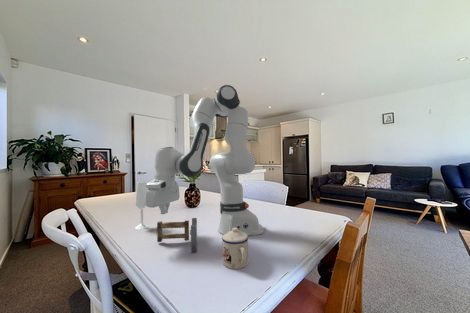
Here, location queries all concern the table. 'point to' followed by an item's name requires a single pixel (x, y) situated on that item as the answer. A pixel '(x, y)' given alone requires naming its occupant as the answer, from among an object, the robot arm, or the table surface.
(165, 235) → the gate
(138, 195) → the champagne flute
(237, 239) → the teacup with lid
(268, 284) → the table surface
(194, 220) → the posts
